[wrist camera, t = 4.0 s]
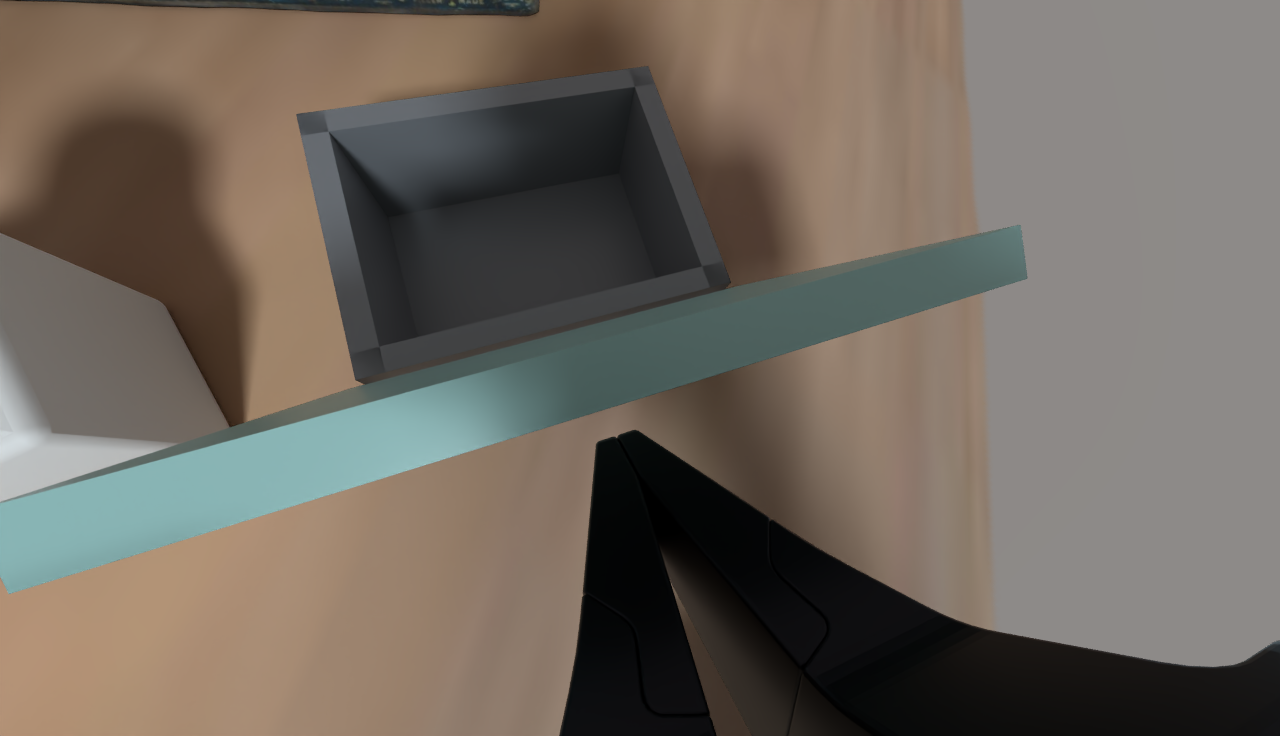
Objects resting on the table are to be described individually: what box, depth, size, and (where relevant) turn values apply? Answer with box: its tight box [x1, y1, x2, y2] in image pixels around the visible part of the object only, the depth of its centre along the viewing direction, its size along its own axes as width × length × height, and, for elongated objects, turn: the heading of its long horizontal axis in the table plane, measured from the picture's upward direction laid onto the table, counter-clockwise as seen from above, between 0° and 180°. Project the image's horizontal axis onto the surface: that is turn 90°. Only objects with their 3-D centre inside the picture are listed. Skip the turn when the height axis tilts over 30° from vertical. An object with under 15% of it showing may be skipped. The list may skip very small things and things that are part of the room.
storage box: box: [296, 66, 731, 384], centre depth 18 cm, size 9×12×6 cm
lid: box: [0, 225, 1027, 594], centre depth 10 cm, size 9×12×1 cm
